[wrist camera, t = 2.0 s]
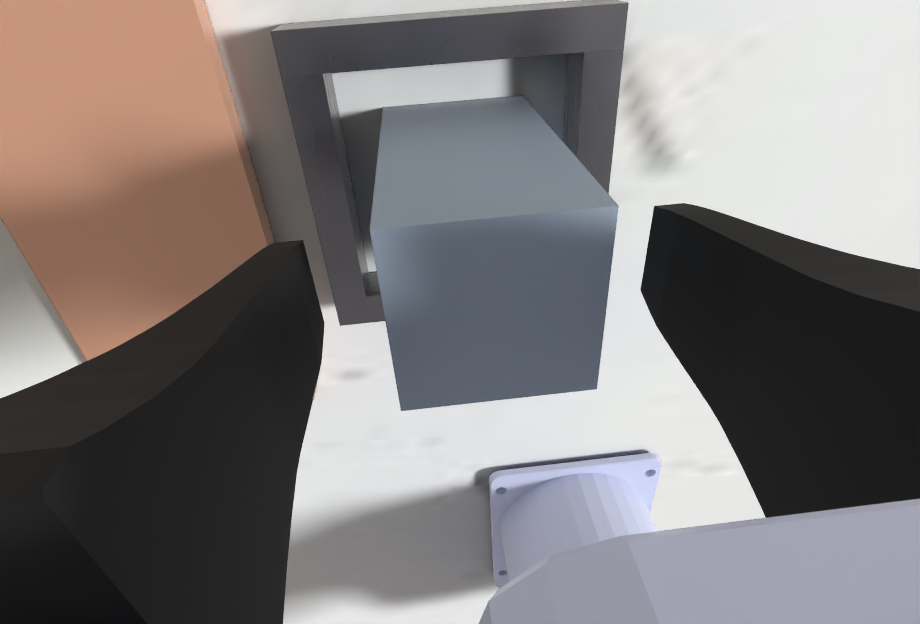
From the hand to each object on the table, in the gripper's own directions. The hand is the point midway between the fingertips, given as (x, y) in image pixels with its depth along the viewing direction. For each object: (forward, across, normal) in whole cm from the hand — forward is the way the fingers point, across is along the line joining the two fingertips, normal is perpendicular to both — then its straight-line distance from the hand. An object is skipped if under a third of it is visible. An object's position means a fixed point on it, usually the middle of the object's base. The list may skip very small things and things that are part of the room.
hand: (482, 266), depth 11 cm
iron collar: (+6, 0, 0) cm, 6 cm away
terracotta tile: (+6, +10, 0) cm, 11 cm away
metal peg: (+6, 0, 0) cm, 6 cm away
